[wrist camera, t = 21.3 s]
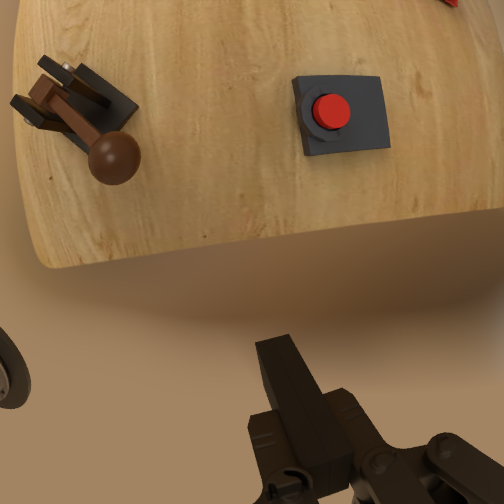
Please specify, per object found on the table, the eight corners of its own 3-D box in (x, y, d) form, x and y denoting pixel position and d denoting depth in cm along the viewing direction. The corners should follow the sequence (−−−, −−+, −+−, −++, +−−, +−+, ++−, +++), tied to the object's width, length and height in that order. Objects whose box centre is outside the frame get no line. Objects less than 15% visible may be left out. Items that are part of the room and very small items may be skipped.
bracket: (139, 106, 32) (110, 79, 19) (97, 159, 32) (49, 163, 19) (84, 65, 28) (38, 27, 15) (45, 116, 29) (-16, 104, 16)
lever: (159, 157, 19) (134, 142, 16) (127, 199, 20) (98, 191, 16) (66, 79, 21) (43, 63, 17) (43, 110, 21) (18, 98, 18)
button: (315, 130, 33) (321, 129, 31) (309, 97, 32) (315, 94, 30) (345, 127, 33) (352, 126, 32) (340, 95, 32) (347, 93, 30)
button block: (297, 156, 37) (308, 157, 33) (284, 80, 34) (294, 72, 30) (382, 147, 39) (398, 147, 35) (371, 79, 35) (387, 74, 32)
